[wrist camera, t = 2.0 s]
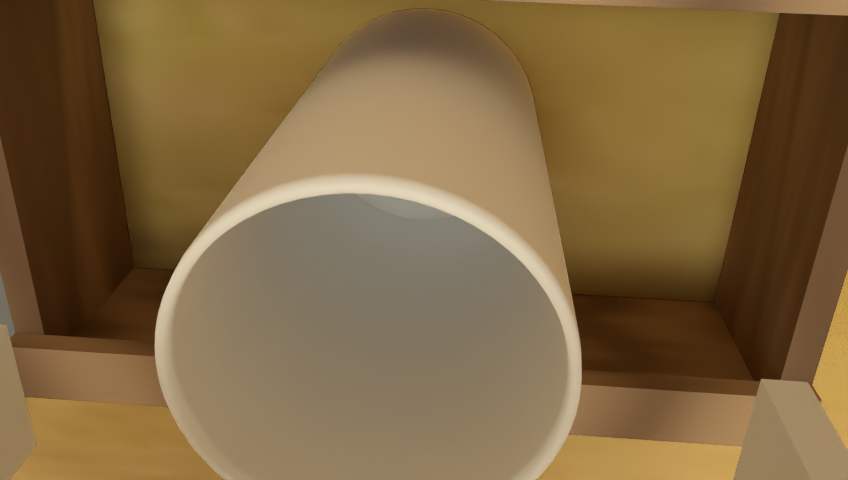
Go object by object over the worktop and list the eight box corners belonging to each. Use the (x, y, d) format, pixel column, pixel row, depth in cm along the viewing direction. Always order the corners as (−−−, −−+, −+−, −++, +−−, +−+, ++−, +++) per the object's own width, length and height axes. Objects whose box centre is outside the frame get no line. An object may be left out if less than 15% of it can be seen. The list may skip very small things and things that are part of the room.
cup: (297, 192, 31) (136, 487, 17) (337, -19, 27) (172, 126, 13) (499, 243, 31) (511, 575, 17) (564, 41, 28) (650, 248, 13)
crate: (113, 286, 33) (15, 402, 26) (43, -128, 26) (-116, -120, 19) (734, 325, 32) (803, 456, 25) (838, -100, 25) (975, -81, 18)
